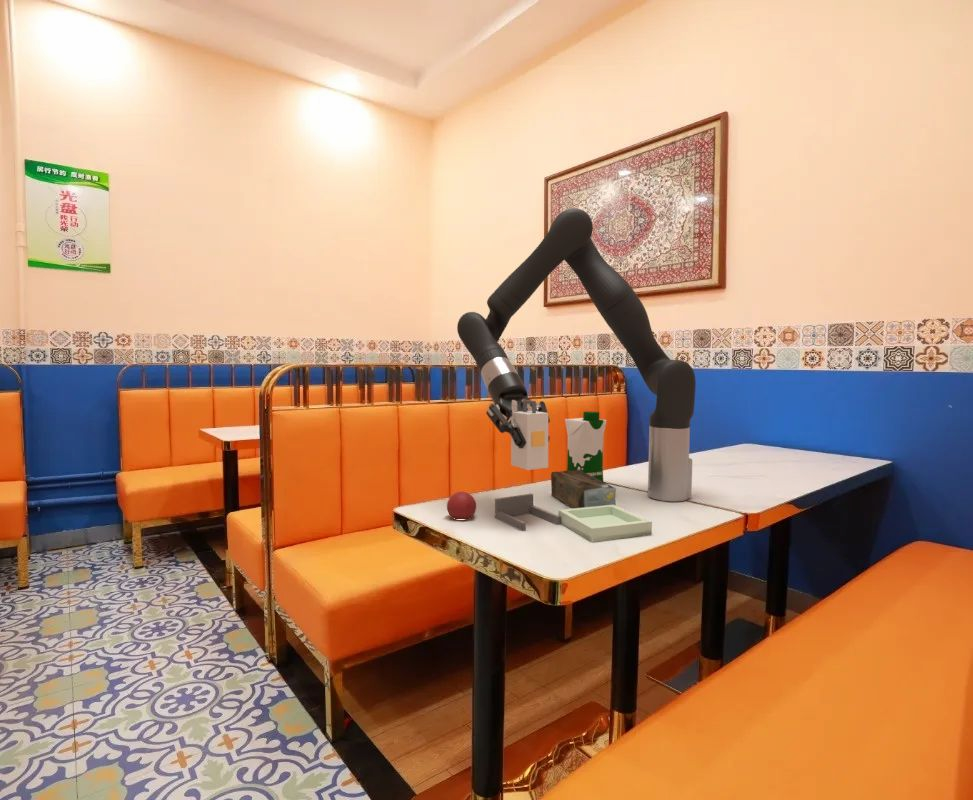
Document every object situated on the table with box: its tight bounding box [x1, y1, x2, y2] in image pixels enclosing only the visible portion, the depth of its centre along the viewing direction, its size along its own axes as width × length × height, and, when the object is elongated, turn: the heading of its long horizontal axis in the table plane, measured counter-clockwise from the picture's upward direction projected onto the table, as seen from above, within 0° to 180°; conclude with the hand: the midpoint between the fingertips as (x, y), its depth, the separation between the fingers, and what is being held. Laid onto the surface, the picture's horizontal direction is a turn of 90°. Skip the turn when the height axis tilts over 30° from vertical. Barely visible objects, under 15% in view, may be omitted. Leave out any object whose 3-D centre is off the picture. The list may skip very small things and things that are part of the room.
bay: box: [494, 493, 561, 532], centre depth 110 cm, size 9×10×4 cm
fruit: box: [446, 491, 477, 520], centre depth 111 cm, size 6×6×8 cm
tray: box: [557, 505, 653, 543], centre depth 105 cm, size 13×13×2 cm
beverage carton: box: [550, 470, 617, 509], centre depth 123 cm, size 8×19×7 cm, turn 15°
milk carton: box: [564, 411, 608, 482], centre depth 139 cm, size 9×9×20 cm
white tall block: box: [510, 399, 549, 471], centre depth 108 cm, size 5×6×13 cm
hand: (534, 444), depth 107 cm, fingers closed on white tall block, 5 cm apart
